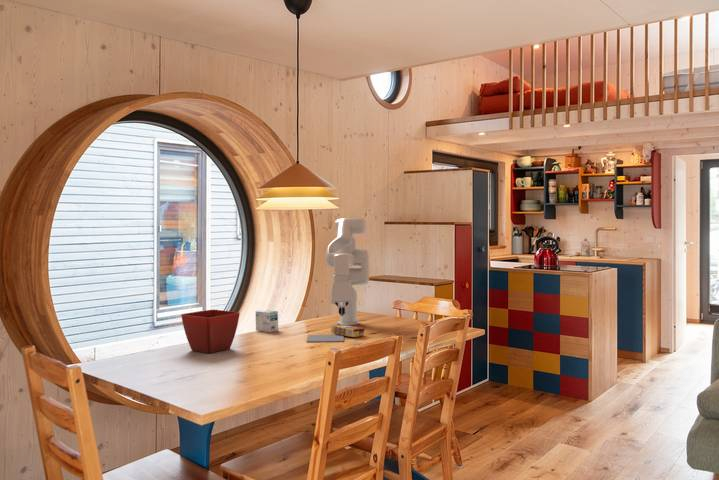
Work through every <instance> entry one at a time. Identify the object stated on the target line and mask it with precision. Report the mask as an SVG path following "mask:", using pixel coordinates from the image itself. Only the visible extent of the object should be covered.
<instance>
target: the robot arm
mask: <svg viewBox="0 0 719 480" xmlns="http://www.w3.org/2000/svg"><path fill="white" fill-rule="evenodd" d="M334 226H335V227H334V228H335V231H336V238H335V239H333V240H332V241H331V242H330V243H329V245H328V246H327V247H326V253H325V254H326V255H325V263H326V265H327V267H329V268H333V280H332V283H331V296H330V297H331V300H330V303H331V304H332V305H335V306H337V308H338V314H339V320H338V321H336V323H337V325H347V326H356V325H359V324H360V320H358V318H357V317H358V312H357V311H358V309H357V306H358V305H357V304H358V301H357V297H358V296H357V295H358V294H357V290H356V289H355V288H354V286H365V285H367V284H369V281H370V258H369V257H370V256H369V252H368V250H367V249H364V248H356V238H355V236H354V234H365V233H366V230H367V222H366V220H365V218H364V217H343V218H337V220H335V222H334ZM337 251H340V252H337ZM352 266H354V267H352ZM355 266H357V267H355ZM358 266H359V267H358Z"/></svg>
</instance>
